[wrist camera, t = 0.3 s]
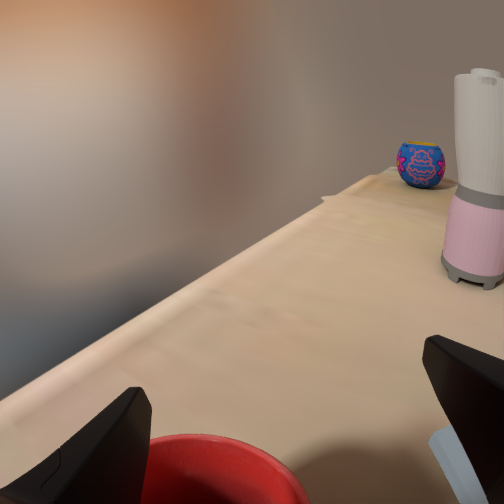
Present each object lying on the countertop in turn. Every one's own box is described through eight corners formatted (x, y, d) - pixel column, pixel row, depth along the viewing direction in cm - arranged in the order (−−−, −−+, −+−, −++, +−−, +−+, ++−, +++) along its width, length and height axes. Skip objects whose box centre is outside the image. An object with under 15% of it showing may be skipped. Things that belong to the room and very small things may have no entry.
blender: (504, 297, 35) (529, 72, 22) (434, 280, 42) (445, 59, 29) (501, 257, 46) (514, 85, 33) (445, 244, 53) (452, 76, 40)
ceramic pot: (441, 184, 99) (443, 143, 93) (445, 195, 85) (448, 148, 79) (397, 179, 107) (397, 139, 101) (394, 189, 93) (395, 142, 87)
